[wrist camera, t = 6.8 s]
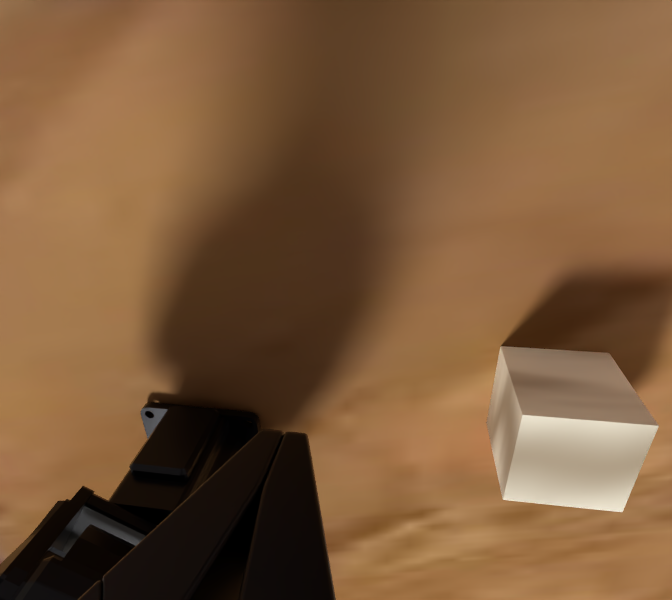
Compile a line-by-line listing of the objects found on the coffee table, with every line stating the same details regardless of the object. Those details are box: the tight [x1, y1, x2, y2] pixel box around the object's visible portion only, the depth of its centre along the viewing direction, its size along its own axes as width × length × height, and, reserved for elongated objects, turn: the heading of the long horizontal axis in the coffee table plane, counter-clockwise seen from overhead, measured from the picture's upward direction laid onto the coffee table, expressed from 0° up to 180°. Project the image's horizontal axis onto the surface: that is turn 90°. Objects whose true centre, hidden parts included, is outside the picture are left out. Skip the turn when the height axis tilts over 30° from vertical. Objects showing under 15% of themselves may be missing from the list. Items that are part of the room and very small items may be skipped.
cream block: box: [486, 346, 659, 512], centre depth 19 cm, size 4×4×4 cm
